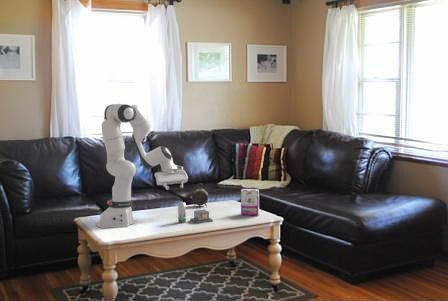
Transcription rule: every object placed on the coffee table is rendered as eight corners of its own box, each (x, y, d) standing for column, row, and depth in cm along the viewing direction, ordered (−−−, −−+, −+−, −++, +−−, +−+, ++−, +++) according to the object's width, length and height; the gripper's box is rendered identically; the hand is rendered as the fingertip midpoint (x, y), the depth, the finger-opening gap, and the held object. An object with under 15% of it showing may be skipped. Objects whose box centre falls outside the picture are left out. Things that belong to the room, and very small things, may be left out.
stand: (196, 223, 331) (196, 213, 330) (190, 220, 339) (190, 210, 339) (212, 221, 336) (212, 211, 335) (206, 218, 344) (206, 208, 343)
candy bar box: (259, 214, 354) (259, 189, 352) (258, 216, 349) (258, 190, 347) (242, 213, 356) (242, 188, 355) (240, 215, 352) (240, 189, 350)
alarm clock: (208, 205, 380) (208, 182, 378) (207, 207, 375) (207, 183, 373) (193, 205, 381) (192, 182, 379) (191, 207, 376) (191, 183, 374)
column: (179, 223, 331) (179, 204, 330) (177, 221, 335) (176, 202, 334) (187, 222, 333) (186, 203, 332) (184, 221, 337) (183, 201, 336)
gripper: (154, 169, 344) (160, 187, 337) (185, 166, 353) (191, 183, 345) (152, 175, 349) (158, 193, 341) (182, 172, 358) (189, 189, 350)
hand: (175, 188), depth 344 cm, fingers open, 8 cm apart
